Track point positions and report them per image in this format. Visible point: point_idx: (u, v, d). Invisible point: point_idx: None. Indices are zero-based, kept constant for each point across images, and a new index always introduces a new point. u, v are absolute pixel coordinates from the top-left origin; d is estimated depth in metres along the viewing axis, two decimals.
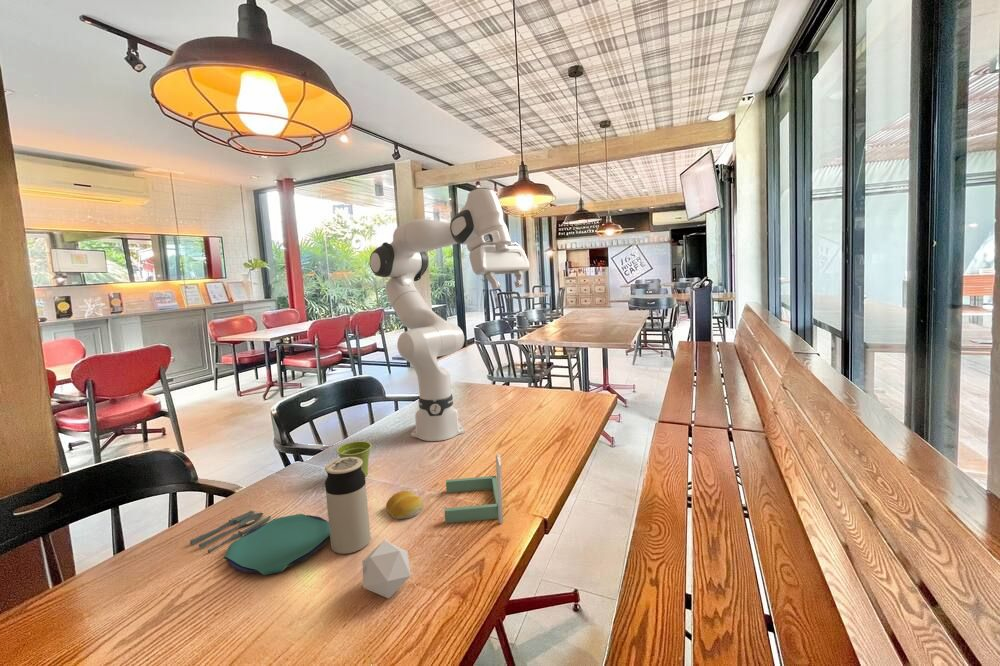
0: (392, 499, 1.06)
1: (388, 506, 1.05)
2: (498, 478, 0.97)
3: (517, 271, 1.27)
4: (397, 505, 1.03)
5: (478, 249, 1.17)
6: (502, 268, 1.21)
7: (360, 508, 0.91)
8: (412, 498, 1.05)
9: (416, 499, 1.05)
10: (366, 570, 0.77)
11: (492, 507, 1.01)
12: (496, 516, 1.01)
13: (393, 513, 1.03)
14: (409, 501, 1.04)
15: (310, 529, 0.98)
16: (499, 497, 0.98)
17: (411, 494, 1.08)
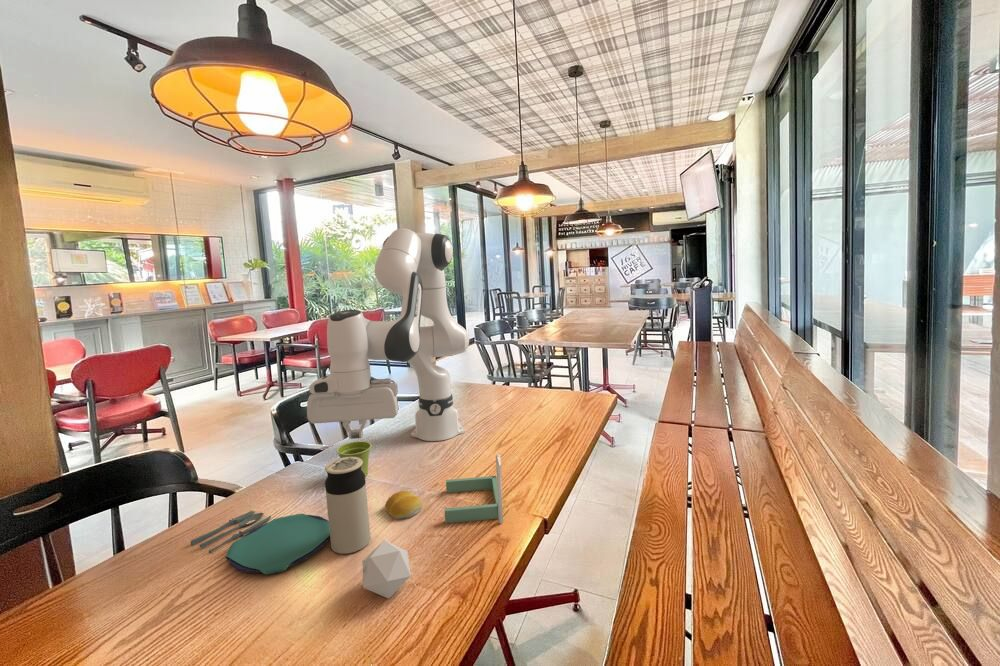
0: (391, 499, 1.06)
1: (387, 506, 1.05)
2: (498, 478, 0.97)
3: None
4: (396, 505, 1.03)
5: None
6: (343, 419, 1.00)
7: (360, 508, 0.91)
8: (411, 498, 1.06)
9: (415, 499, 1.06)
10: (366, 570, 0.77)
11: (492, 507, 1.01)
12: (496, 516, 1.01)
13: (392, 513, 1.03)
14: (408, 500, 1.04)
15: (311, 529, 0.98)
16: (499, 497, 0.98)
17: (410, 494, 1.09)
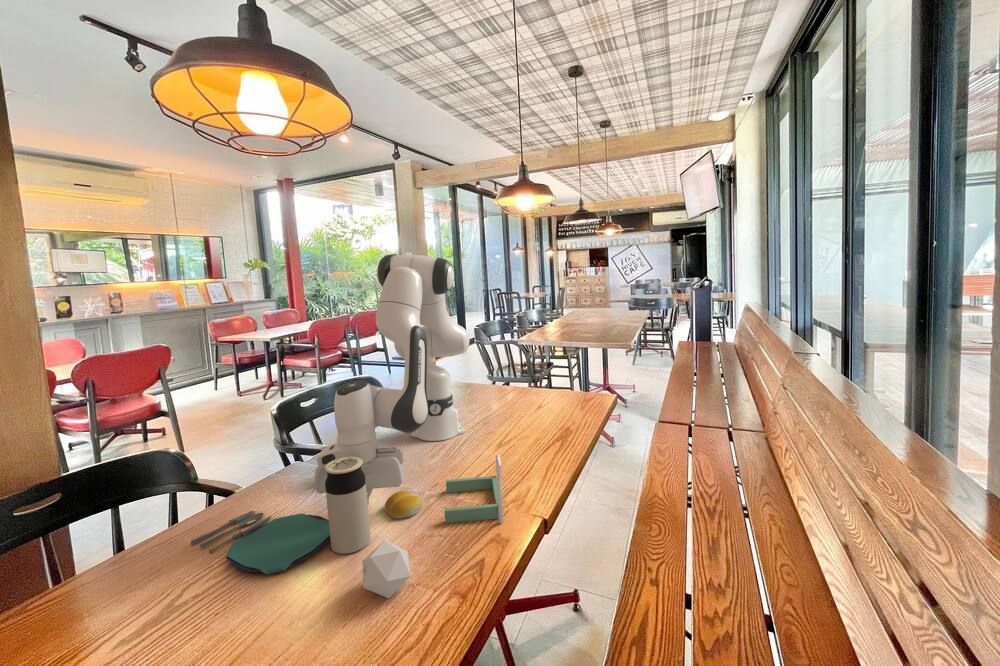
0: (391, 499, 1.06)
1: (387, 506, 1.05)
2: (498, 478, 0.97)
3: None
4: (396, 505, 1.04)
5: (316, 469, 1.01)
6: None
7: (360, 508, 0.91)
8: (411, 498, 1.06)
9: (415, 499, 1.06)
10: (366, 570, 0.77)
11: (492, 507, 1.01)
12: (496, 516, 1.01)
13: (392, 513, 1.03)
14: (407, 500, 1.04)
15: (311, 528, 0.98)
16: (499, 497, 0.98)
17: (410, 494, 1.09)
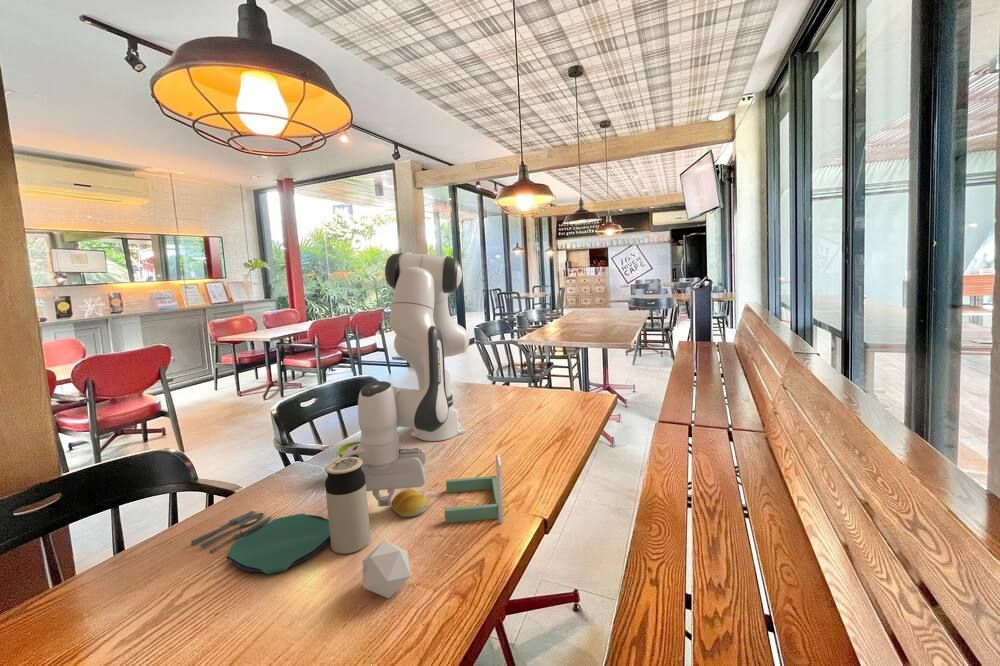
0: (397, 497, 1.06)
1: (393, 504, 1.05)
2: (498, 478, 0.97)
3: None
4: (402, 503, 1.04)
5: None
6: (372, 489, 1.03)
7: (360, 508, 0.91)
8: (417, 496, 1.06)
9: (422, 497, 1.06)
10: (366, 570, 0.77)
11: (492, 507, 1.01)
12: (496, 516, 1.01)
13: (398, 511, 1.03)
14: (414, 499, 1.04)
15: (312, 529, 0.98)
16: (499, 497, 0.98)
17: (416, 492, 1.09)
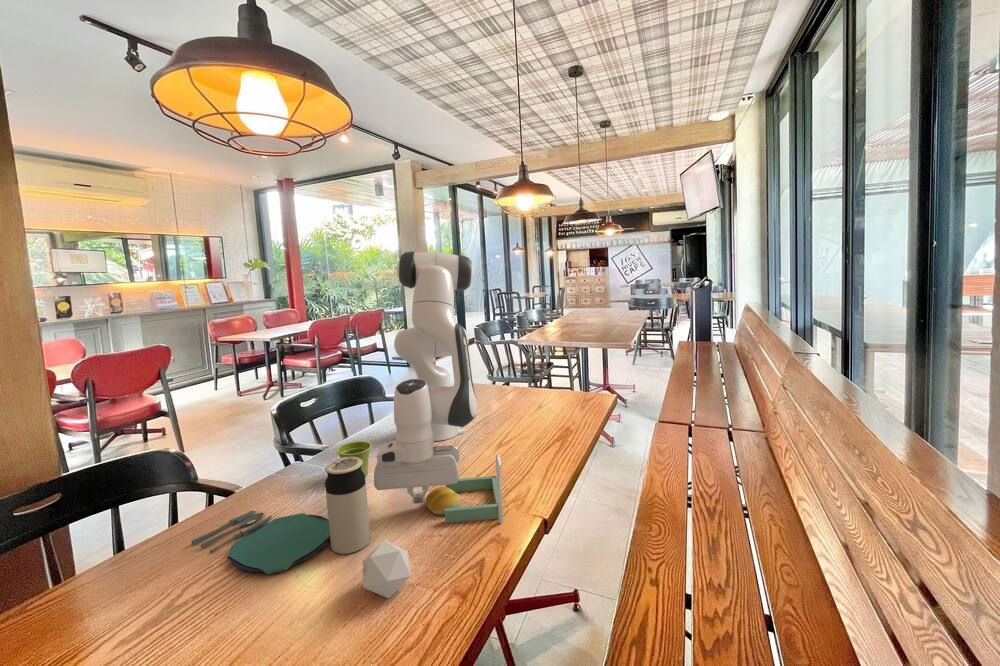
0: (431, 494, 1.07)
1: (427, 501, 1.06)
2: (498, 478, 0.97)
3: None
4: (436, 501, 1.04)
5: None
6: (407, 486, 1.04)
7: (360, 508, 0.91)
8: (451, 494, 1.06)
9: (455, 496, 1.06)
10: (366, 570, 0.77)
11: (492, 507, 1.01)
12: (496, 516, 1.01)
13: (432, 508, 1.04)
14: (448, 497, 1.05)
15: (312, 528, 0.99)
16: (499, 497, 0.98)
17: (450, 490, 1.09)
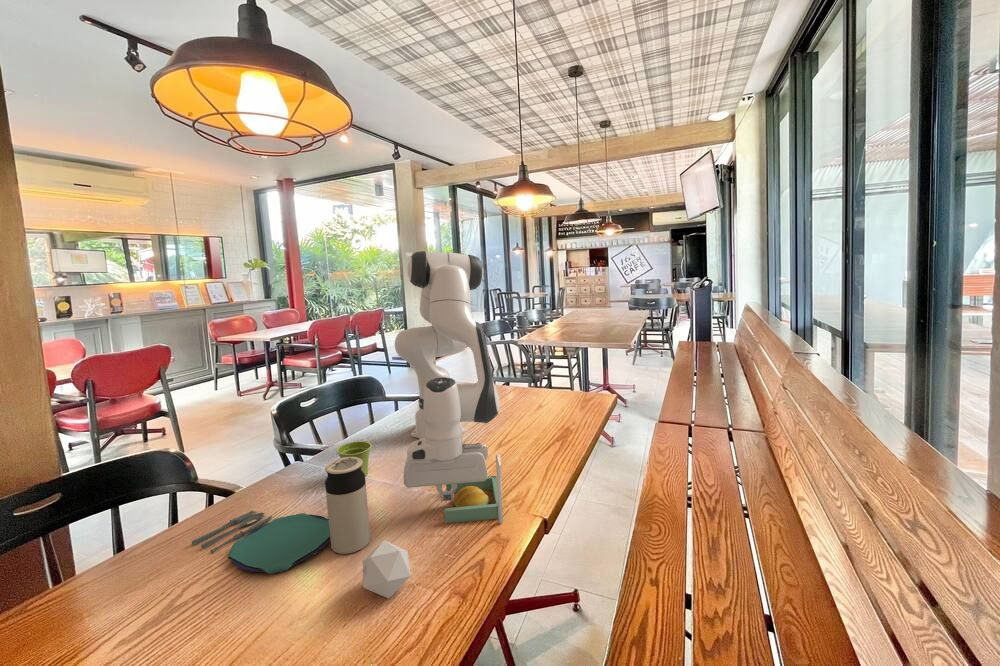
0: (459, 492, 1.08)
1: (455, 499, 1.07)
2: (498, 478, 0.97)
3: None
4: (462, 499, 1.05)
5: (405, 464, 1.03)
6: (437, 483, 1.05)
7: (360, 508, 0.91)
8: (478, 494, 1.06)
9: (482, 496, 1.06)
10: (366, 570, 0.77)
11: (492, 507, 1.01)
12: (496, 516, 1.01)
13: (458, 506, 1.04)
14: (474, 496, 1.05)
15: (313, 528, 0.99)
16: (499, 497, 0.98)
17: (478, 490, 1.09)
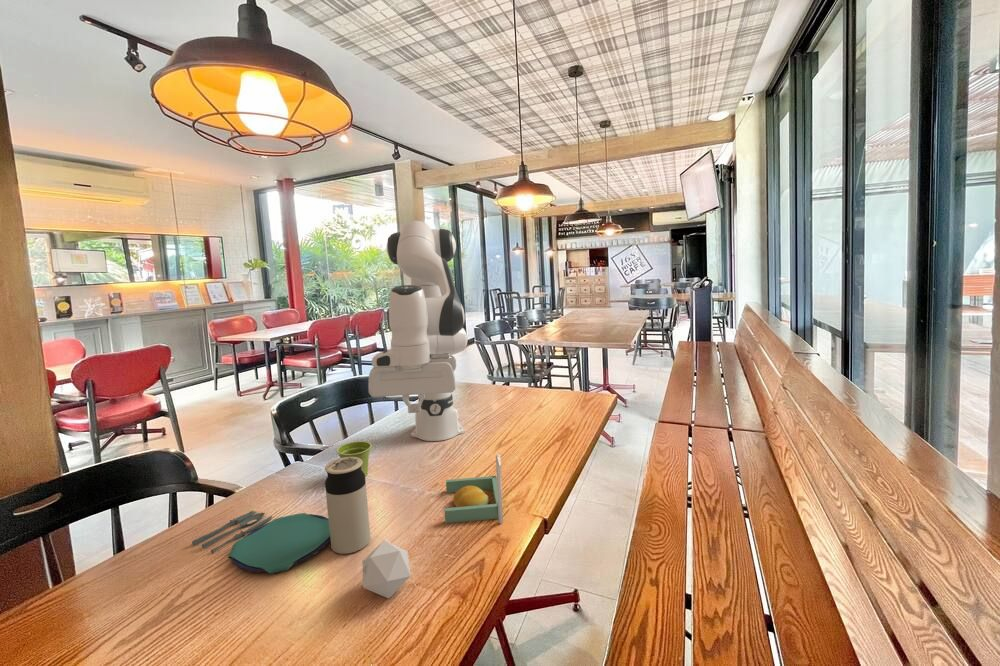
0: (459, 492, 1.08)
1: (455, 498, 1.07)
2: (498, 478, 0.97)
3: None
4: (462, 499, 1.05)
5: (370, 372, 1.00)
6: (403, 393, 1.02)
7: (360, 508, 0.91)
8: (478, 494, 1.06)
9: (482, 496, 1.06)
10: (366, 570, 0.77)
11: (492, 507, 1.01)
12: (496, 516, 1.01)
13: (458, 506, 1.05)
14: (474, 496, 1.05)
15: (313, 528, 0.99)
16: (499, 497, 0.98)
17: (478, 490, 1.09)
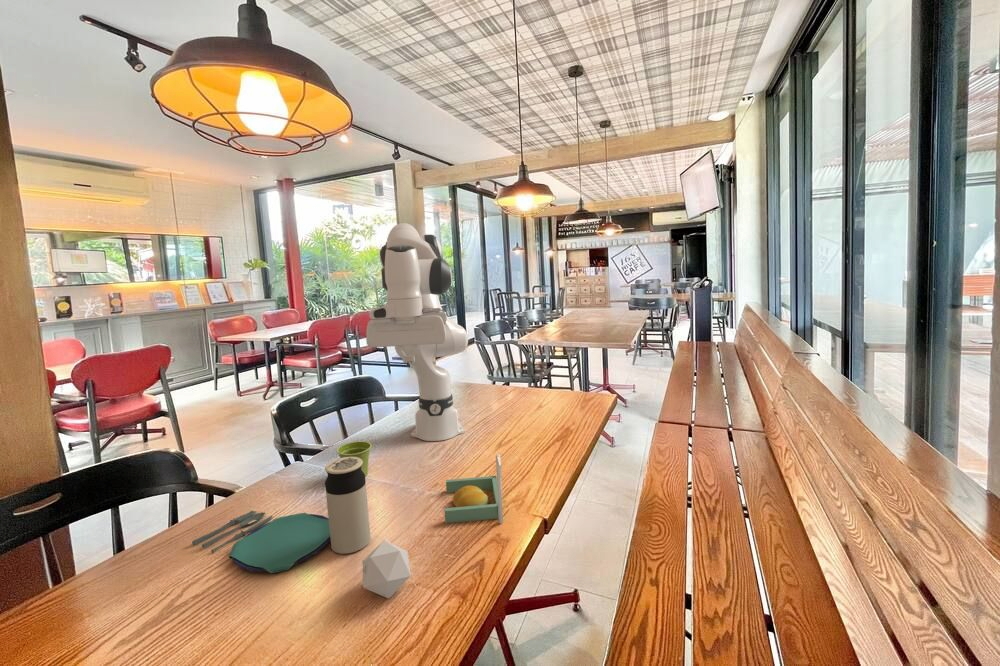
0: (459, 492, 1.08)
1: (454, 498, 1.07)
2: (498, 478, 0.97)
3: (411, 345, 1.13)
4: (462, 499, 1.05)
5: (367, 324, 1.10)
6: (398, 344, 1.11)
7: (360, 508, 0.91)
8: (477, 494, 1.06)
9: (481, 495, 1.06)
10: (366, 570, 0.77)
11: (492, 507, 1.01)
12: (496, 516, 1.01)
13: (458, 506, 1.05)
14: (473, 496, 1.05)
15: (314, 527, 0.99)
16: (499, 497, 0.98)
17: (478, 489, 1.09)
